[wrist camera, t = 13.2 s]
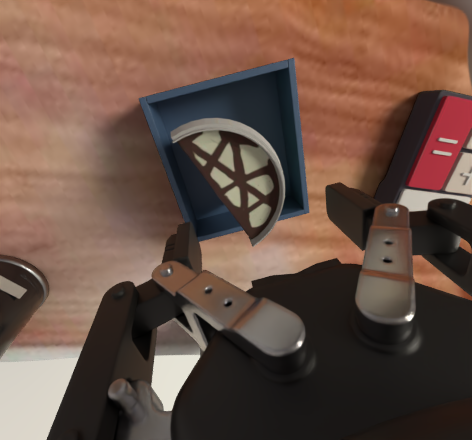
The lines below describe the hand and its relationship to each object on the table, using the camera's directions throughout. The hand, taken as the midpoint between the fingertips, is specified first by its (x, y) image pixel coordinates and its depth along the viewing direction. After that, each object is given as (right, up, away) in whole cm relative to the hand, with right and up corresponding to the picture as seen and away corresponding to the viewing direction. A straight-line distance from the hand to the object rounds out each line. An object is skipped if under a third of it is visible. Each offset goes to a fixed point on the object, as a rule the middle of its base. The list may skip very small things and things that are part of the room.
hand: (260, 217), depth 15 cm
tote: (-2, +8, +15) cm, 17 cm away
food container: (-2, +8, +14) cm, 16 cm away
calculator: (+24, +8, +19) cm, 31 cm away
